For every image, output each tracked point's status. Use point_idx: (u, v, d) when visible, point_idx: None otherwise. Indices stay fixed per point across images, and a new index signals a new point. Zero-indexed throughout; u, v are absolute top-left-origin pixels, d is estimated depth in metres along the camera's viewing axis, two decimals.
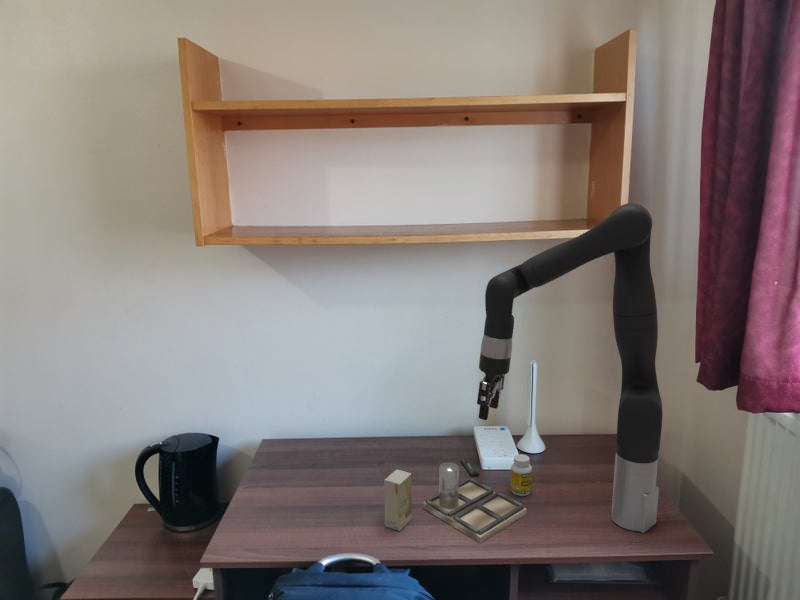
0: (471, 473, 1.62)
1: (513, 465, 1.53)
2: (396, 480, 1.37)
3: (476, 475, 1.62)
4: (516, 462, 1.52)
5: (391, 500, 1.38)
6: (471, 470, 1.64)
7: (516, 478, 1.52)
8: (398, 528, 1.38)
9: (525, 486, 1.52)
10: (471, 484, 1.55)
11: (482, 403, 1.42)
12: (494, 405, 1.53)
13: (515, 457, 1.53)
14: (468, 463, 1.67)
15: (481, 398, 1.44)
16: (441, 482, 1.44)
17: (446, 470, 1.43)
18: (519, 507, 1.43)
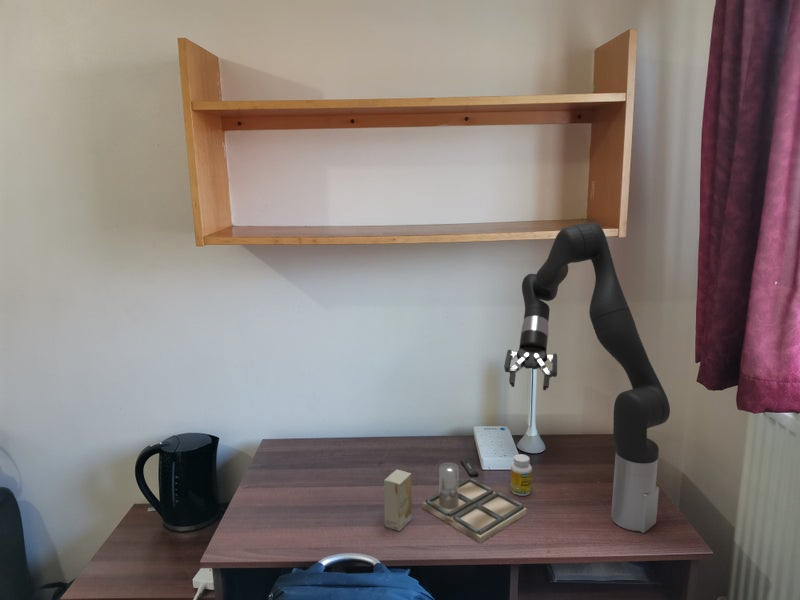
0: (470, 473, 1.62)
1: (513, 465, 1.53)
2: (396, 480, 1.37)
3: (475, 475, 1.62)
4: (516, 461, 1.52)
5: (391, 500, 1.38)
6: (471, 470, 1.64)
7: (516, 478, 1.52)
8: (398, 528, 1.38)
9: (525, 485, 1.52)
10: (471, 484, 1.55)
11: None
12: (543, 385, 1.59)
13: (515, 457, 1.53)
14: (468, 463, 1.67)
15: None
16: (441, 482, 1.44)
17: (446, 470, 1.43)
18: (519, 507, 1.43)
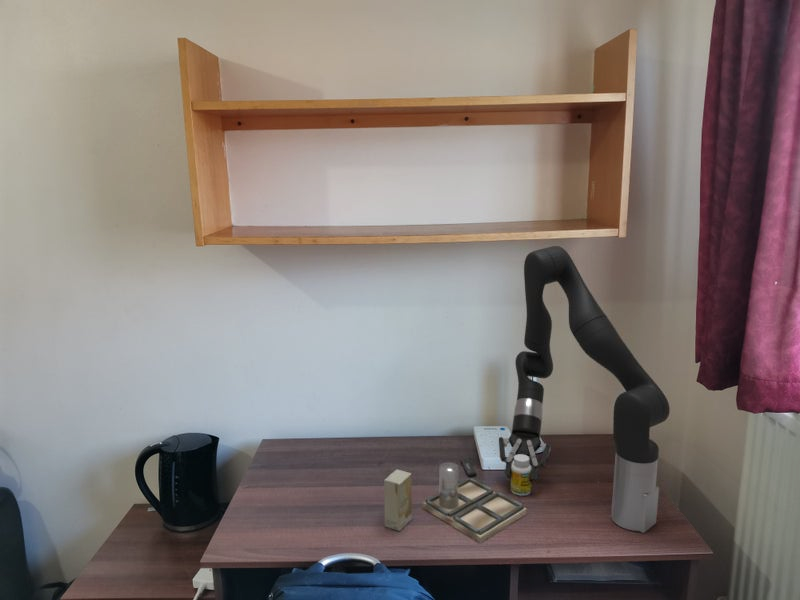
0: (468, 473, 1.62)
1: (513, 465, 1.53)
2: (396, 480, 1.37)
3: (473, 475, 1.62)
4: (516, 461, 1.52)
5: (391, 500, 1.38)
6: (469, 470, 1.64)
7: (516, 478, 1.52)
8: (398, 528, 1.38)
9: (525, 485, 1.52)
10: (471, 484, 1.55)
11: None
12: None
13: (515, 457, 1.53)
14: (467, 463, 1.67)
15: None
16: (441, 482, 1.44)
17: (446, 470, 1.43)
18: (519, 507, 1.43)
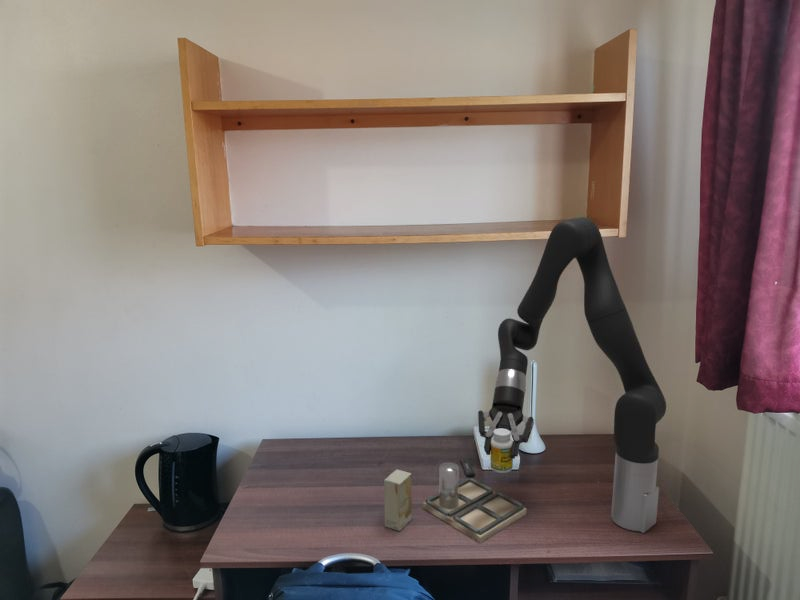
0: (467, 473, 1.62)
1: (493, 440, 1.42)
2: (396, 480, 1.37)
3: (472, 476, 1.62)
4: (495, 436, 1.40)
5: (391, 500, 1.38)
6: (468, 470, 1.64)
7: (495, 453, 1.40)
8: (398, 528, 1.38)
9: (505, 462, 1.40)
10: (471, 484, 1.55)
11: None
12: None
13: (495, 431, 1.41)
14: (466, 463, 1.67)
15: None
16: (441, 482, 1.44)
17: (446, 470, 1.43)
18: (519, 507, 1.43)
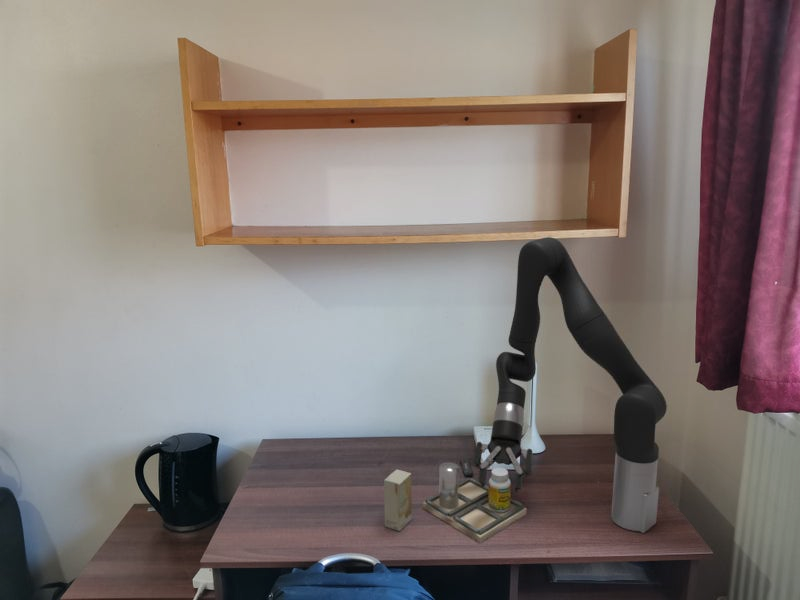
0: (465, 473, 1.62)
1: (491, 479, 1.43)
2: (396, 480, 1.37)
3: (470, 476, 1.62)
4: (494, 476, 1.42)
5: (391, 500, 1.38)
6: (466, 470, 1.64)
7: (494, 493, 1.42)
8: (398, 528, 1.38)
9: (503, 501, 1.42)
10: (471, 484, 1.55)
11: None
12: (514, 487, 1.41)
13: (493, 471, 1.43)
14: (465, 464, 1.67)
15: None
16: (441, 482, 1.44)
17: (446, 470, 1.43)
18: (519, 507, 1.43)
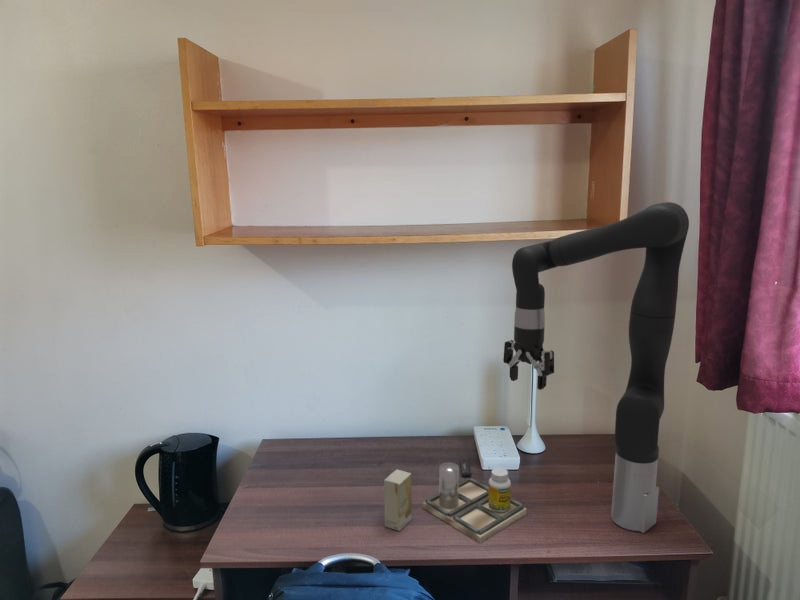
0: (462, 473, 1.62)
1: (491, 479, 1.43)
2: (396, 480, 1.37)
3: (467, 476, 1.62)
4: (494, 476, 1.42)
5: (391, 500, 1.38)
6: (464, 470, 1.64)
7: (494, 493, 1.42)
8: (398, 528, 1.38)
9: (503, 501, 1.42)
10: (471, 484, 1.55)
11: None
12: None
13: (493, 471, 1.43)
14: (464, 464, 1.67)
15: None
16: (441, 482, 1.44)
17: (446, 470, 1.43)
18: (519, 507, 1.43)
